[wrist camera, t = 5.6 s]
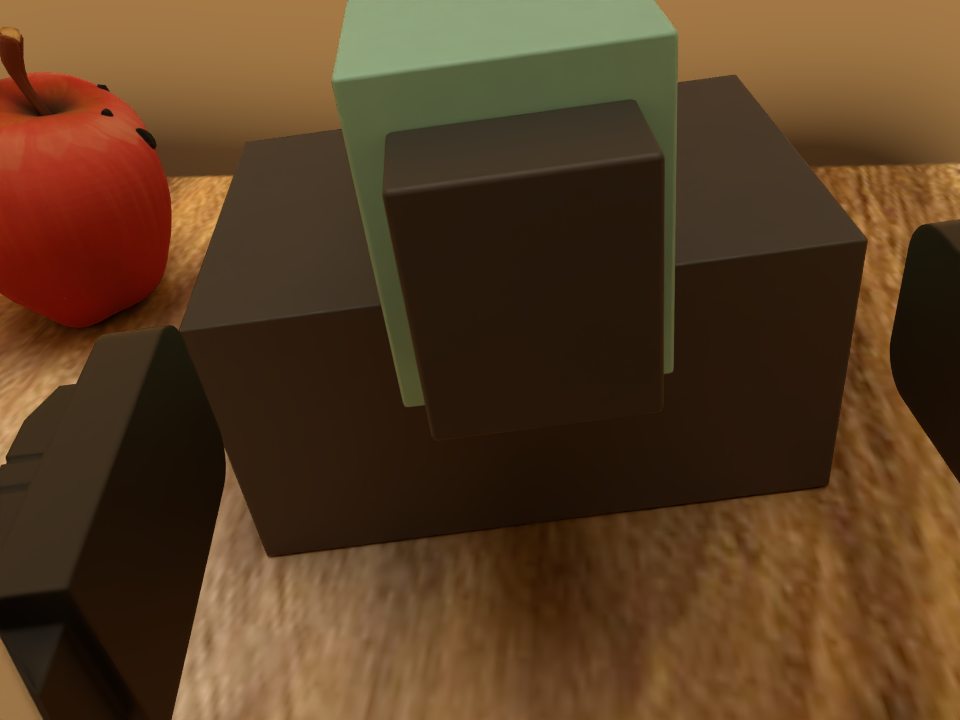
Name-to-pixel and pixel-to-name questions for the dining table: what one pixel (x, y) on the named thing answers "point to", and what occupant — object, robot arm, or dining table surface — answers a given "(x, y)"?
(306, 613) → the dining table surface
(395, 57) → the green block
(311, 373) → the stand
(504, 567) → the dining table surface
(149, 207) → the apple
